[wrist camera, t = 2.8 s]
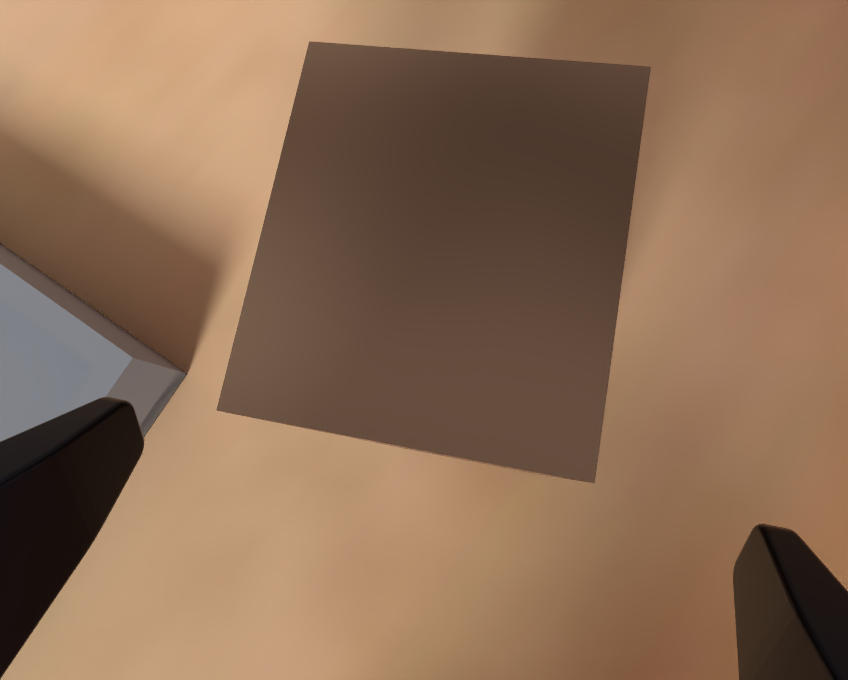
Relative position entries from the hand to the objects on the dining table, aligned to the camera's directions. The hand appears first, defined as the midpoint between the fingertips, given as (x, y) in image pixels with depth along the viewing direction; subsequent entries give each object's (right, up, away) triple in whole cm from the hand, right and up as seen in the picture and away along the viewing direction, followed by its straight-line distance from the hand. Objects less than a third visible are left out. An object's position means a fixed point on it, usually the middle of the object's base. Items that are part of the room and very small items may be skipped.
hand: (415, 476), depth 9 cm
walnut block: (+2, +1, +10) cm, 10 cm away
